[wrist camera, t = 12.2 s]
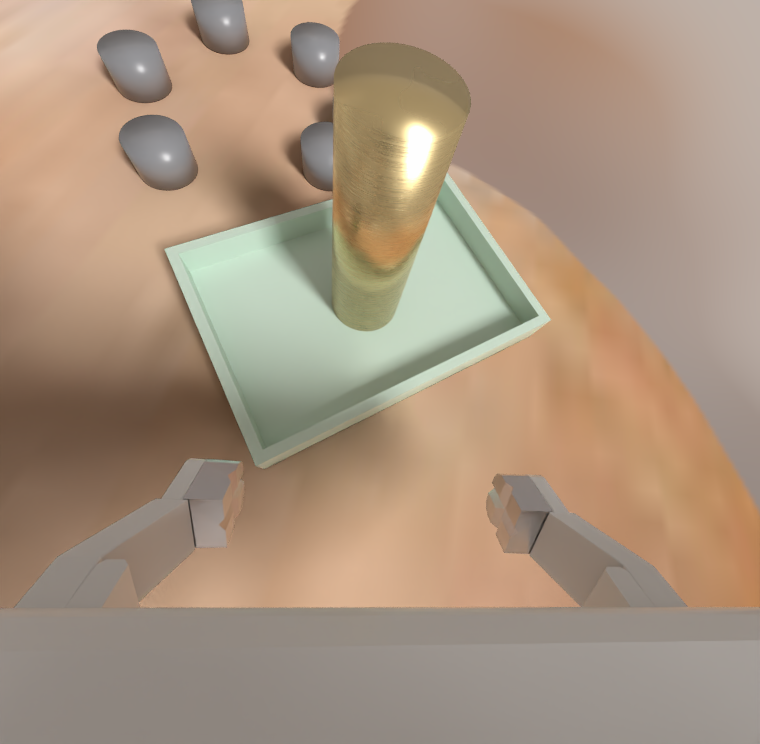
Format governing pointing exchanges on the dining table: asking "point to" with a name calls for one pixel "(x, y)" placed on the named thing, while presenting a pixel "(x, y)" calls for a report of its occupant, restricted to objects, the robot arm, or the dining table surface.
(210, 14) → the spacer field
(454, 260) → the tray
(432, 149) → the gold metal cylinder
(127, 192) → the dining table surface
